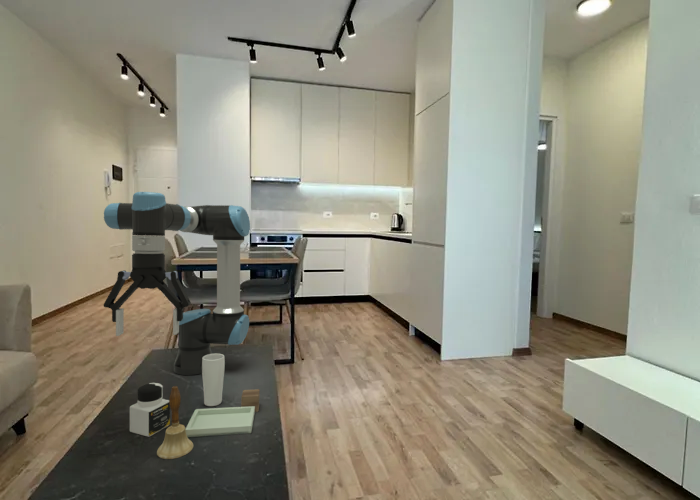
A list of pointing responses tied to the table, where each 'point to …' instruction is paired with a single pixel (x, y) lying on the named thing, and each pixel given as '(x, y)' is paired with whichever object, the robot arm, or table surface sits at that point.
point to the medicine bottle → (149, 411)
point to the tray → (221, 421)
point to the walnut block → (250, 398)
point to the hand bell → (175, 432)
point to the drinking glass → (213, 378)
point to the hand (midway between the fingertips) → (148, 334)
